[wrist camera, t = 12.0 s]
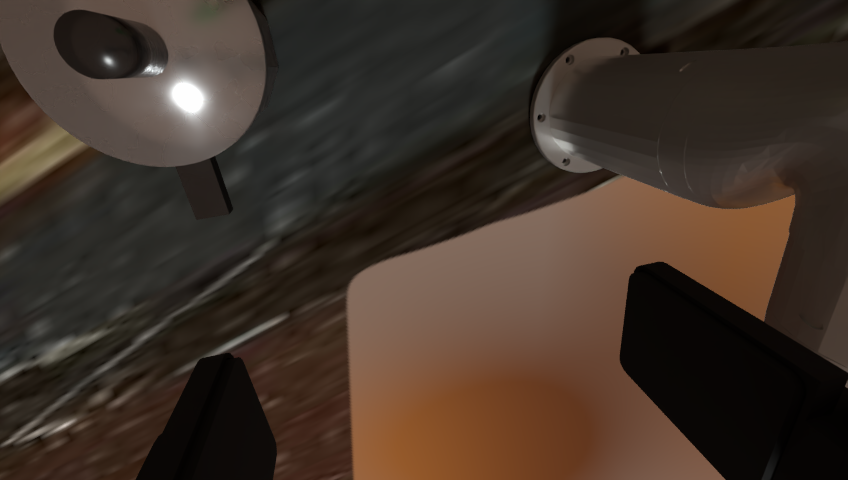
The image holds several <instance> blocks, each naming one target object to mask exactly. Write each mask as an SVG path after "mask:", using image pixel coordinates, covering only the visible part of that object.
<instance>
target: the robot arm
mask: <svg viewBox="0 0 848 480" xmlns="http://www.w3.org/2000/svg"><path fill="white" fill-rule="evenodd" d="M620 52H621V53H620ZM566 58H567V62H566ZM538 115H539V119H537V117H538ZM530 126H531V133H532V136H533V139H534V142H535V144H536V146H537V148H538V150H539V151H540V153H541V154H542V155H543V156H544V157H545V158H546V159H547V160H548V161H549V162H551V163H552V164H554V165H555V166H557V167H559V168H561V169H564V170H567V171H571V172H582V173H585V172H590V171H596V170H598V169H601V168H605V169H608V170H611V171H613V172H616V173H618V174H621V175H624V176H626V177H629V178H632V179H634V180H637V181H640V182H642V183H645V184H648V185H650V186H653V187H655V188H658V189H660V190H663V191H666V192H668V193H671V194H674V195H676V196H679V197H682V198H684V199H688V200H690V201H693V202H696V203H698V204H701V205H705V206H709V207H715V208H722V209H741V208H748V207H754V206H758V205H763V204H767V203H770V202H773V201H776V200H780V199H783V198H786V197H789V196H791V195H794V194H795V208H794V212H793V216H792V220H791V223H790V227H789V238H788V241H787V244H786V248H785V251H784V254H783V257H782V261H781V264H780V267H779V270H778V274H777V277H776V280H775V284H774V287H773V290H772V293H771V297H770V299H769V303H768V306H767V310H766V314H765V320H764V322H763V321H761V320H760V319H758V318H756V317H755V316H753V315H751V314H750V313H748V312H746V311H745V310H743V309H741V308H740V307H738V306H736V305H735V304H733V303H731V302H730V301H728V300H726V299H725V298H723V297H721V296H720V295H718V294H717V293H715V292H713V291H711V290H710V289H708V288H706V287H705V286H703V285H701V284H700V283H698V282H696V281H695V280H693V279H691V278H690V277H688V276H687V275H685V274H683V273H682V272H680V271H678V270H677V269H675V268H673V267H672V266H670V265H668V264H667V263H664V262H655V263H651V264H646V265H641V266H638V267H636V269H635V271H634V273H633V274H631V276H630V278H629V283H628V292H627V300H626V308H625V317H624V325H623V333H622V341H621V350H620V363H621V365H622V367H623V369H624V371H625V372H626V373H627V374H628V375H629V376H630V377H631V379H633V381H634V382H635V383H636V384H637V385H638V386H639V387H640V388H641V389H642V390H643V391H644V392H645V394H646V395H647V396H648V397H649V398H650V399H651V400H652V401H653V402H654V403H655V404H656V405H657V406H658V408H659V409H660V410H661V411H662V412H663V413H664V414H665V415H666V416H667V417H668V418H669V419H670V420H671V422H672V423H673V424H674V425H675V426H676V427H677V428H678V429H679V430H680V431H681V432H682V433H683V434H684V435H685V437H686V438H687V439H688V440H689V441H690V442H691V443H692V444H693V445H694V446H695V447H696V448H697V449H698V450H699V452H700V453H701V454H702V455H703V456H704V457H705V458H706V459H707V460H708V461H709V462H710V463H711V464H712V465H713V467H714V468H715V469H716V470H717V471H718V472H719V473H720V474H721V475H722V476H723V477H724V478H725V479H726V480H848V41H844V42H834V43H823V44H812V45H800V46H788V47H773V48H753V49H739V50H719V51H698V52H677V53H656V54H640V53H639V52H638V51H637V50H636V49H635V48H633V47H632V46H631V45H629V44H628V43H626V42H624V41H622V40H618V39H614V38H593V39H587V40H584V41H582V42H579V43H576V44H574V45H572V46H571V47H569V48H567V49H566V50H564V51H563V52H562V53H561V54H559V55H558V56H557V57H556V58H555V59H554V60H553V61H552V62H551V64H550V65H549V66H548V67H547V68H546V70H545V71H544V73H543V75H542V76H541V78H540V80H539V81H538V84H537V86H536V89H535V91H534V94H533V98H532V103H531V107H530ZM563 160H564V161H563ZM276 456H277V448H276V442H275V439H274V436H273V434H272V431H271V429H270V426H269V424H268V421H267V419H266V416H265V414H264V412H263V409H262V407H261V404H260V402H259V399H258V397H257V394H256V392H255V389H254V387H253V384H252V382H251V379H250V377H249V375H248V372H247V370H246V367H245V365H244V362H243V360H242V359H241V358H239V357H238V358H234V357H233V355H231V354H230V353H225V354H220V355H215V356H210V357H206V358H202V359H200V360H199V361H198V363H197V364H196V366H195V368H194V370H193V372H192V374H191V376H190V378H189V380H188V382H187V384H186V386H185V388H184V390H183V392H182V394H181V397H180V399H179V401H178V403H177V405H176V407H175V409H174V411H173V413H172V415H171V417H170V419H169V421H168V423H167V425H166V427H165V429H164V431H163V433H162V434H161V435H159V436H158V438H157V439H156V441H155V442H154V444H153V446H152V448H151V450H150V452H149V454H148V456H147V458H146V460H145V462H144V464H143V466H142V468H141V470H140V472H139V474H138V476H137V478H136V480H273V475H274V469H275V463H276Z"/></svg>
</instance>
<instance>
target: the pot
mask: <svg viewBox="0 0 848 480" xmlns="http://www.w3.org/2000/svg"><path fill="white" fill-rule="evenodd" d="M249 2H250V3H251V5H252V7H253V10H254V12H255V14H256V16H257V18H258V21H259V24H260V27H261V30H262V33H263V36H264V41H265V46H266V51H267V61H268V79H267V87H266V92H265V97H264V100H263V103H262V106H261V109H260V111H259V113H258V115H260V114H261V113H262V112H263V111H264V110H265V109H266V108H267V107H268V105H269V101H270V98H271V94H272V90H273V87H274V83H275V79H276V75H277V72H278V68H279V67H277V66H279V65H278V61H277V58H276V54H275V50H274V46H273V42H272V38H271V34H270V30H269V26H268V22H267V20H266V18H265V17H264V15H263V14H262V13H261V12H260V11H259V9H258V8H257V7H256V6H255V4H254V3H253V2H252V1H251V0H249ZM258 115H257V116H258ZM176 169H177V172H178V174H179V177H180V179H181V182H182V184H183V187H184V189H185V192H186V194H187V197H188V199H189V202H190V205H191V207H192V210H193V212H194V215H195V217H196V220H198V219H203V218H209V217H215V216H221V215H227V214H230V213H231V211H232V210H233V207H232V204H231V201H230V198H229V195H228V192H227V189H226V187H225V184H224V181H223V178H222V175H221V172H220V169H219V166H218V163H217V161H216V158H215V156H213V157H211V158H209V159H206V160H203V161H201V162H198V163H193V164H189V165H184V166H176Z"/></svg>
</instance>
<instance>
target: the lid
mask: <svg viewBox="0 0 848 480" xmlns="http://www.w3.org/2000/svg"><path fill="white" fill-rule="evenodd" d="M0 43H1V46H2V49H3V51H4V53H5V55H6V58H7V60H8V62H9V64H10V66H11V68H12V70H13V71H14V73H15V75H16V76H17V78H18V80H19V81H20V83H21V84H22V86H23V87H24V88H25V90H26V91H27V92H28V94H29V95H30V96H31V98H32V99H33V100H34V101H35V102H36V103H37V104H38V106H39V107H40V108H41V109H42V110H43V111H44V112H45V113H46V114H47V115H48V116H49V117H50V118H51V119H53V120H54V121H55V122H56V123H57V124H58V125H59V126H60V127H62V128H63V129H65V130H66V131H67V132H69V133H70V134H71V135H73V136H74V137H75V138H77V139H79V140H80V141H82V142H84V143H85V144H87V145H89V146H90V147H92V148H95V149H97V150H99V151H101V152H103V153H105V154H107V155H110V156H113V157H115V158H118V159H121V160H124V161H128V162H132V163H136V164H141V165H148V166H160V167H173V166H184V165H189V164H193V163H198V162H201V161H203V160H206V159H209V158H211V157H213V156H215V155H217V154H219V153H221V152H223V151H224V150H226V149H227V148H229V147H230V146H231V145H233V144H234V143H235V142H237V141H238V140H239V139H240V138H241V137H242V136H243V135H244V134H245V133H246V132H247V130H248V129H249V128H250V126H251V125H252V124H253V122H254V121H255V119H256V117H257V115H258V113H259V111H260V109H261V106H262V103H263V100H264V97H265V92H266V87H267V79H268V61H267V51H266V46H265V41H264V36H263V33H262V30H261V27H260V24H259V21H258V18H257V16H256V14H255V12H254V10H253V7H252V5H251V3H250V2H249V0H0Z"/></svg>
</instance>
